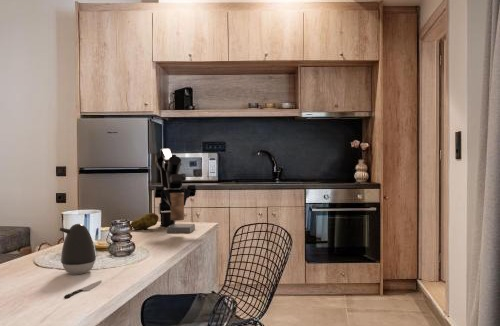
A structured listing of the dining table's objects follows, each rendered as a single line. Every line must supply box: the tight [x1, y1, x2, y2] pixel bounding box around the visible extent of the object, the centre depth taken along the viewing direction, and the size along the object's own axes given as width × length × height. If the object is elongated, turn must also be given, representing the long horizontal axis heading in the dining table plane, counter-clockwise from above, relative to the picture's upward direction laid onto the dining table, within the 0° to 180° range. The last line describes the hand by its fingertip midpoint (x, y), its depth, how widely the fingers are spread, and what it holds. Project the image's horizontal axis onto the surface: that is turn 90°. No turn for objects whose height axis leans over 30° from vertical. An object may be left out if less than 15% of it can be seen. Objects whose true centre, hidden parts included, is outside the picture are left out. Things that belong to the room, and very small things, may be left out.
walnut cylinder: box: [170, 193, 185, 222], centre depth 219 cm, size 6×6×12 cm
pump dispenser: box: [59, 223, 97, 275], centre depth 151 cm, size 10×10×15 cm
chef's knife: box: [63, 280, 102, 299], centre depth 132 cm, size 19×1×3 cm
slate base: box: [166, 223, 196, 234], centre depth 230 cm, size 11×11×2 cm
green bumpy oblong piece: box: [130, 212, 159, 230], centre depth 237 cm, size 8×13×8 cm, turn 80°
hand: (177, 205), depth 217 cm, fingers closed on walnut cylinder, 6 cm apart
